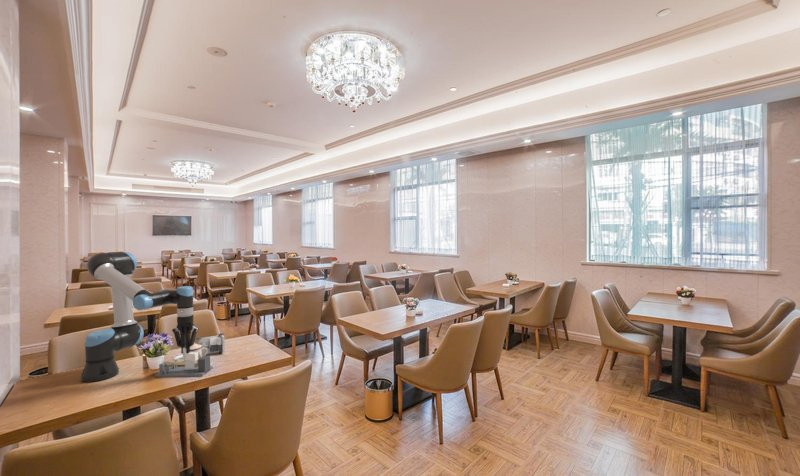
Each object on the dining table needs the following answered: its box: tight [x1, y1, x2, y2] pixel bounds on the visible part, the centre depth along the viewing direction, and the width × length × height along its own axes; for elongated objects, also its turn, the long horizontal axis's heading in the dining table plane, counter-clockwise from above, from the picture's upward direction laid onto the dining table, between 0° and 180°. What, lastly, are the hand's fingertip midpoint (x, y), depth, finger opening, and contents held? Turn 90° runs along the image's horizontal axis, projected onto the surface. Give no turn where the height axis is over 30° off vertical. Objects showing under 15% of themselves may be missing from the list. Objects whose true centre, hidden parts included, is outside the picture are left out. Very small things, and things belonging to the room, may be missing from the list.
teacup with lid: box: [183, 341, 208, 362], centre depth 205 cm, size 12×9×12 cm
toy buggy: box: [195, 332, 226, 355], centre depth 215 cm, size 18×10×12 cm, turn 129°
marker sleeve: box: [184, 352, 199, 368], centre depth 189 cm, size 5×4×8 cm
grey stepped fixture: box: [155, 355, 214, 378], centre depth 189 cm, size 24×11×8 cm, turn 92°
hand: (185, 359), depth 189 cm, fingers closed
